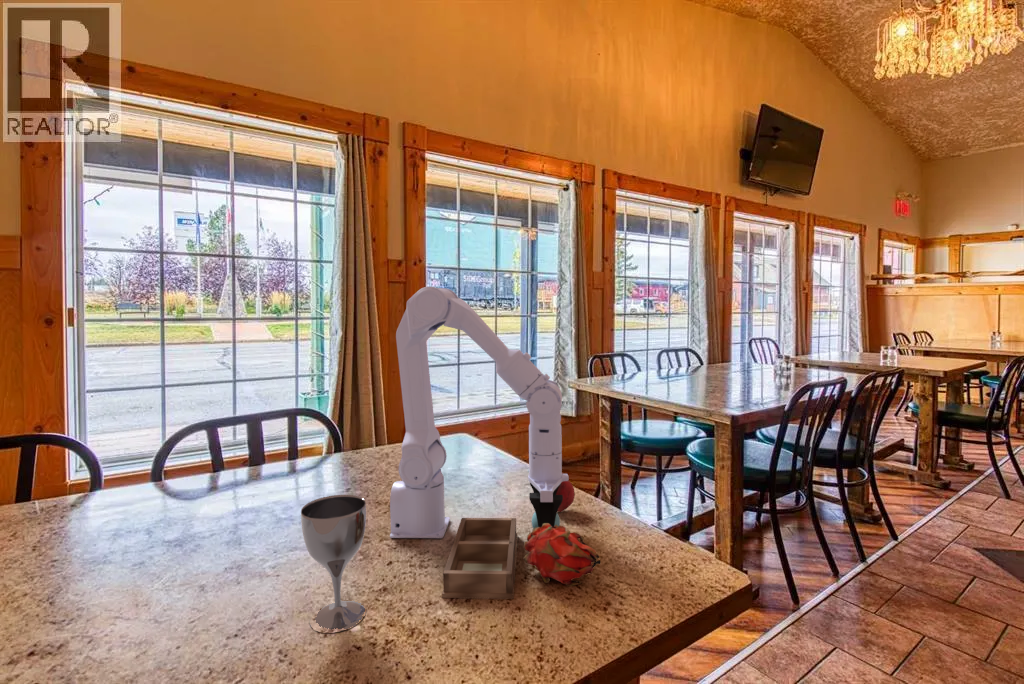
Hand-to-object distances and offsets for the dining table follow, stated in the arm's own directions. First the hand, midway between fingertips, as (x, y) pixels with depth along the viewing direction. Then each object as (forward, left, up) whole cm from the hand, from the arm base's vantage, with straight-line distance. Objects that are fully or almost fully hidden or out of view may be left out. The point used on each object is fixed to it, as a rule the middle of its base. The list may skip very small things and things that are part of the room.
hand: (545, 526), depth 90 cm
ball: (0, 0, +1) cm, 1 cm away
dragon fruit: (+2, -14, -2) cm, 14 cm away
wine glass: (-28, -24, -2) cm, 37 cm away
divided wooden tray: (-10, -10, -2) cm, 14 cm away
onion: (+3, +10, -2) cm, 11 cm away
